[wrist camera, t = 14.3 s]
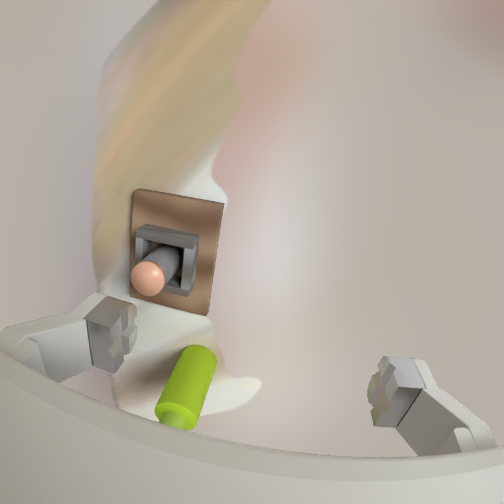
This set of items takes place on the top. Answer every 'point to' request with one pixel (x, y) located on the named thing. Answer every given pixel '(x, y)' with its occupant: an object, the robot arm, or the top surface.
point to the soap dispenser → (186, 388)
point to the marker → (156, 269)
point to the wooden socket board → (182, 235)
